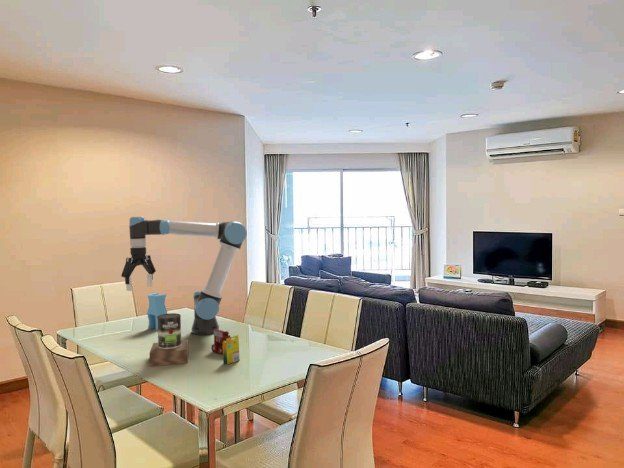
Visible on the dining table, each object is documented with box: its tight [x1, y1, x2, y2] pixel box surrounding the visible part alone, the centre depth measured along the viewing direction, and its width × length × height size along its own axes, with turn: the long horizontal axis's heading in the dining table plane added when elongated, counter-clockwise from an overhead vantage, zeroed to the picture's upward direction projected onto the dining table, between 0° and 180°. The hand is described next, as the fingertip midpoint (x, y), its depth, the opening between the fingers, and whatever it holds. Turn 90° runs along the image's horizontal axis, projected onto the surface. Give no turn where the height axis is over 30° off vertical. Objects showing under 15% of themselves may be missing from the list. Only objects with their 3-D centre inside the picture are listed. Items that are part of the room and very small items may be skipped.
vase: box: [146, 292, 168, 332], centre depth 269 cm, size 8×8×20 cm
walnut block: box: [149, 339, 190, 367], centre depth 212 cm, size 16×16×6 cm
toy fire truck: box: [210, 329, 232, 356], centre depth 221 cm, size 7×12×10 cm, turn 50°
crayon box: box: [222, 334, 240, 365], centre depth 207 cm, size 7×3×12 cm, turn 141°
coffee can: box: [157, 312, 182, 349], centre depth 212 cm, size 10×10×14 cm
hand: (139, 288), depth 236 cm, fingers open, 13 cm apart
